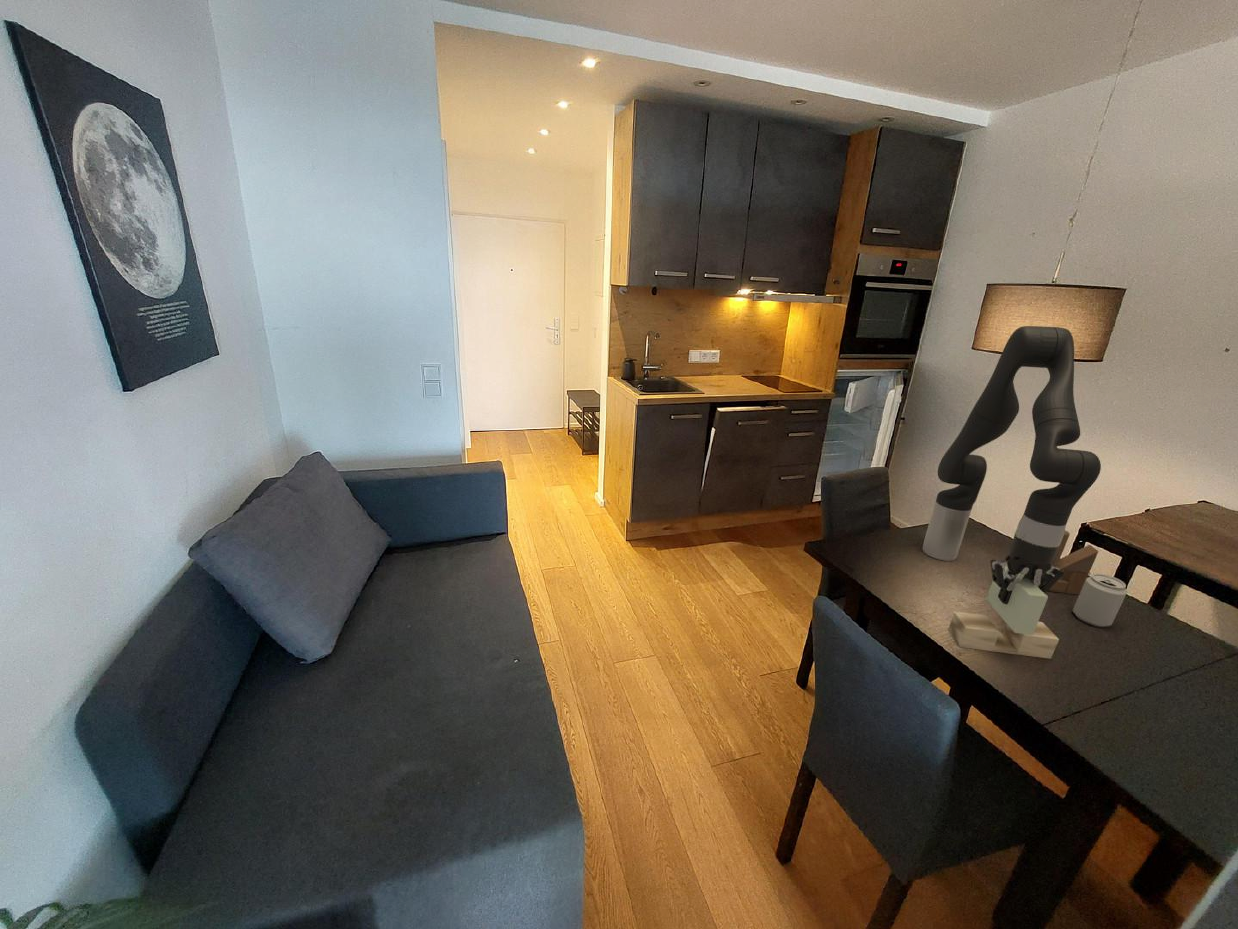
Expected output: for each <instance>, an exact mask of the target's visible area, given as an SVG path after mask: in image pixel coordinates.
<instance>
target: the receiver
mask: <svg viewBox="0 0 1238 929" xmlns="http://www.w3.org/2000/svg"><path fill="white" fill-rule="evenodd" d="M947 631H948V632H949V633H950V635H951V636H952V638H953V639H954V641H955V642H956V644H957V645H958V647H959V648H965V649H971V650H981V651H986V652H987V651H988V652H995V653H996V652H997V653H1005V654H1011V655H1020V656H1025V657H1026V656H1028V657H1035V658H1041V659H1042V658H1043V659H1052V657H1053V655H1054V652H1055V650H1056V648H1057V646H1058V643H1059V641H1060V638H1058V637H1057V635H1056V634H1055V633H1053V632H1052V631H1051V629H1050V628H1049V627H1047V625H1046V624H1045V623H1044V622H1042V621H1038V623H1037V626H1036V628H1035V631H1034V633H1033V635H1029V634H1021V633H1015V632H1014V631H1013V630H1012V629H1011V628H1010V626H1009V625H1008V624H1007V623H1006V625H1005V628H1004V630H1003V633H1002V632H1000V631H999V629H998V628H997V627H996V625H994V624H993V622H992V621H991V619H990V618H989V617H988V616H987V615H985V614H984V615H983V614H978V613H977V614H975V613H968V612H959V611H953V614H952V617H951V619H950V624H949V626H948V630H947Z"/></svg>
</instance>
